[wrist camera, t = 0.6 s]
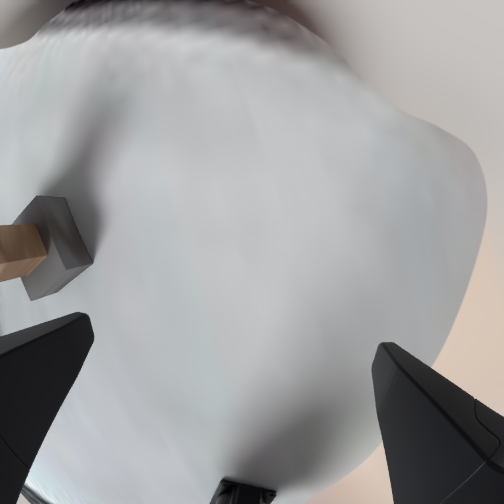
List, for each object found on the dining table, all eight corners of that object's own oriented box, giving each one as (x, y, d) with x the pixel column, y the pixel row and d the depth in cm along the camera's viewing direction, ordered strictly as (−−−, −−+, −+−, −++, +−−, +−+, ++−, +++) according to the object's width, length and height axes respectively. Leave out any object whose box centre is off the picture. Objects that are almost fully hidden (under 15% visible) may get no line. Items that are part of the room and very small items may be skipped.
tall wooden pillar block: (93, 263, 23) (-24, 293, 10) (57, 292, 24) (-44, 328, 11) (64, 197, 23) (-48, 190, 10) (31, 231, 23) (-69, 240, 10)
